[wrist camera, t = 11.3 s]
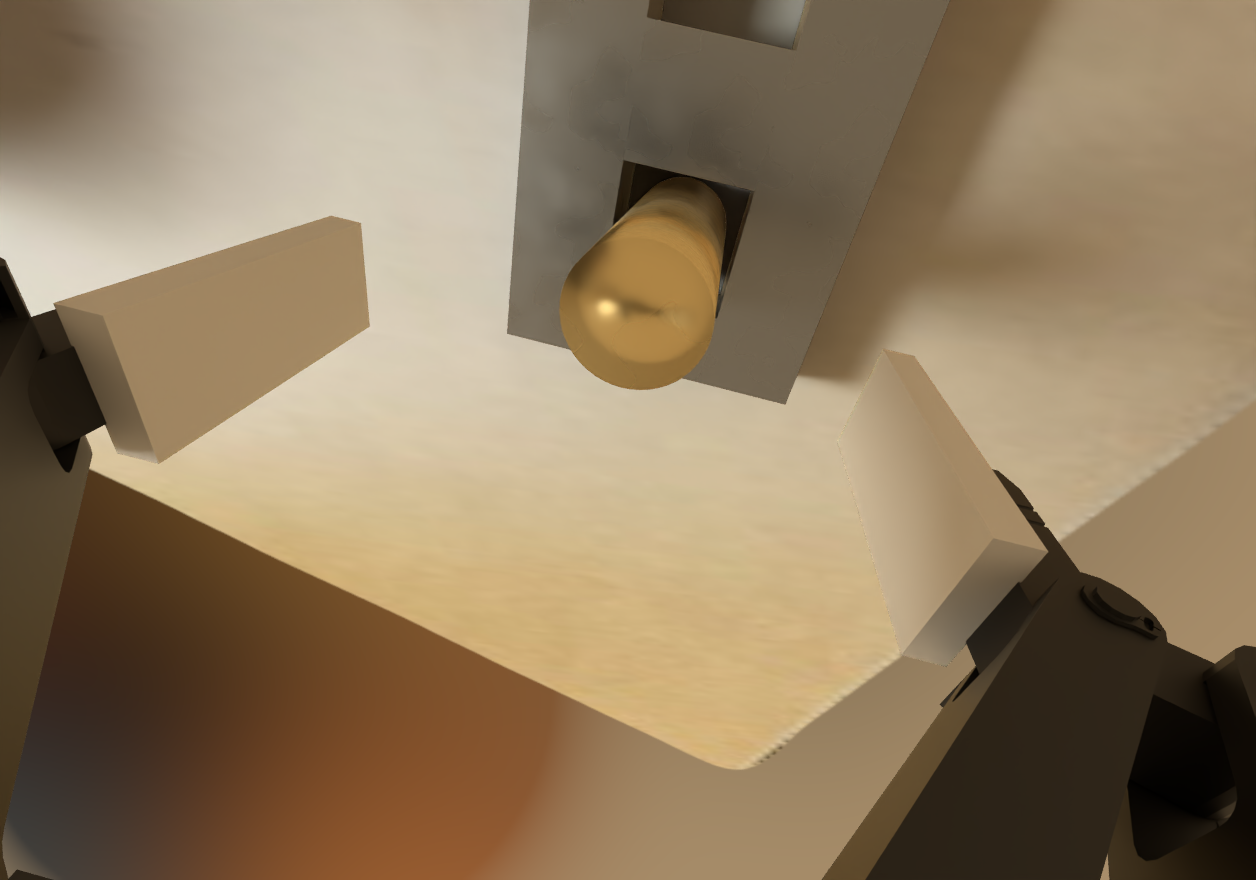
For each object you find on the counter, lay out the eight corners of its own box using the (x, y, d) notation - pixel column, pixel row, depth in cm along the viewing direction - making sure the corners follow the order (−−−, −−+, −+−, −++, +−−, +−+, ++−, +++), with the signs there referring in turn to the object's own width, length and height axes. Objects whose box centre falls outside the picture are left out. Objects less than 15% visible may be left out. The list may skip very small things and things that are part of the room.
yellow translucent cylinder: (627, 261, 27) (551, 369, 17) (645, 166, 25) (569, 219, 14) (712, 282, 27) (691, 405, 16) (738, 188, 25) (734, 259, 14)
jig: (530, 310, 30) (507, 333, 27) (589, -333, 18) (558, -419, 15) (781, 373, 29) (785, 404, 26) (1022, -250, 17) (1081, -322, 14)
